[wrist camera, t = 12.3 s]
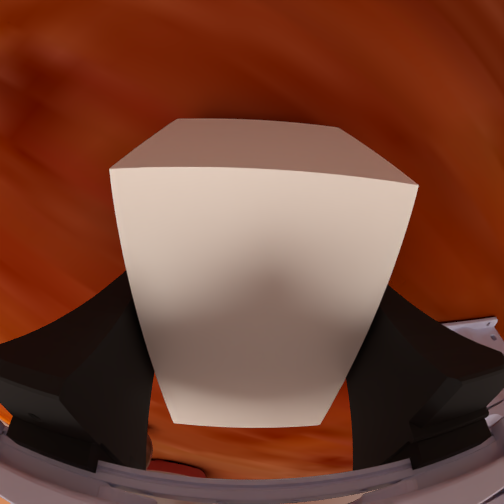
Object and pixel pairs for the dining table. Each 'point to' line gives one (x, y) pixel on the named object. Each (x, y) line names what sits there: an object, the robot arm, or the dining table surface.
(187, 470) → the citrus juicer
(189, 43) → the dining table surface
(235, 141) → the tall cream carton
